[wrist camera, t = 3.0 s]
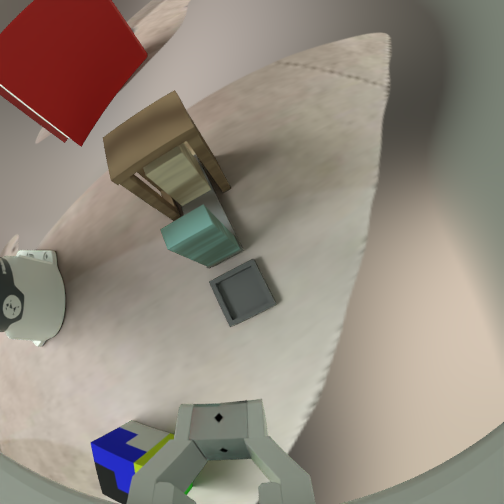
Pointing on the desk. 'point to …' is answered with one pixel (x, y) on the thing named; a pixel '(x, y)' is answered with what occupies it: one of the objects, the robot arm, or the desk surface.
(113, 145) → the tunnel
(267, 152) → the desk surface
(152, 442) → the puzzle toy
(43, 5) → the book
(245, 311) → the tray
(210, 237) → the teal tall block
